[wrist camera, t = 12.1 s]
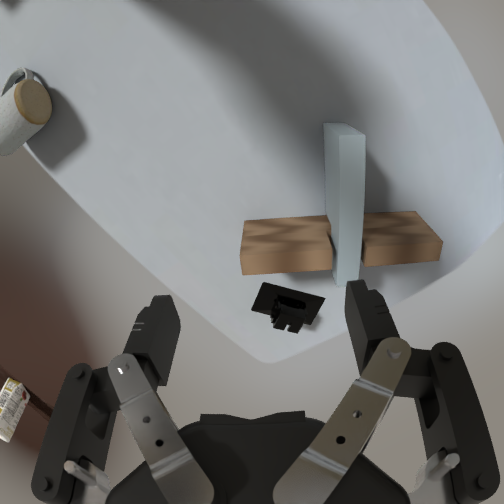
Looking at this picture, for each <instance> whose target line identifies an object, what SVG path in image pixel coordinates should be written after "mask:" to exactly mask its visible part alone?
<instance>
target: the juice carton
mask: <svg viewBox="0 0 504 504" xmlns="http://www.w3.org/2000/svg"><path fill="white" fill-rule="evenodd" d="M29 398H30V395H29V393H28V392H27V391H26V389H25V387H24V386H23V384H21V383H19V382H17V381H15V380H13V379H10V378H8V379H7V381H6V383H5V385H4V386H3V388H2V390H1V392H0V438H1V439H3V440H4V441H6V442H9V441H10V439H11V436H12V434H13V432H14V430H15V428H16V425H17V423H18V421H19V419H20V417H21V415H22V412H23V411H24V408H25V406H26V404H27V402H28V400H29Z"/></svg>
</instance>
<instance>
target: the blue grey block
mask: <svg viewBox="0 0 504 504" xmlns="http://www.w3.org/2000/svg"><path fill="white" fill-rule="evenodd" d="M323 134H324V159H325V212H326V214H327V217H328V219H329V221H330V224H331V247H332V269H331V271H332V274H333V277H334V281H335V284H336V287H346V284H347V281H352V280H358V278H359V268H360V257H361V246H362V233H363V217H364V197H365V157H366V136H365V135H364V134H363V133H361V132H359V131H358V130H356V129H354V128H353V127H351V126H349V125H347V124H346V123H323Z"/></svg>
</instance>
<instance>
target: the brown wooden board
mask: <svg viewBox="0 0 504 504" xmlns="http://www.w3.org/2000/svg"><path fill="white" fill-rule="evenodd" d="M442 245H443V241H442V240H441V239H440V238H439V236H438V235H437V234H436V233H435V232H434V231H433V230H432V229H431V228H430V226H429V225H428V224H427V223H426V222H425V221H424V220H423V219H422V218H421V217H420V216H419V215H418V213H417V212H416V211H410V212H383V213H364V217H363V233H362V246H361V260H362V262H363V264H364V266H365V267H370V266H382V265H394V264H406V263H417V262H428V261H439V258H440V254H441V249H442ZM240 261H241V268H242V275H256V274H272V273H288V272H303V271H317V270H331V269H332V247H331V224H330V221H329V219H328V217H327V215H323V216H306V217H290V218H275V219H261V220H247V221H244V228H243V235H242V242H241V249H240Z"/></svg>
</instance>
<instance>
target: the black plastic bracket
mask: <svg viewBox="0 0 504 504" xmlns="http://www.w3.org/2000/svg"><path fill="white" fill-rule="evenodd" d="M324 300H325V298H323V297H320V296H316V295H312V294H308V293H304V292H300V291H296V290H292V289H289V288H285V287H281V286H277V285H273V284H270V283H266V282H263V283H262V286H261V288H260V290H259V293H258V295H257V297H256V300H255V302H254V304H253V307H252V309H251V310H252V311H255V312H259V313H263V314H267V315H271V316H270V318H271V323H273V328H275V329H280V330H284V329H285V327H286V325H289V327H288V329H287V330H288V332H293V333H297V334H298V332H299V330H300V329H301V327H302V325H303V323H304V324H308V325H311V324H312V322H313V320H314V318H315V317H316V315H317V313H318V311H319V309H320V308H321V306H322V304H323V302H324Z"/></svg>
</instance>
